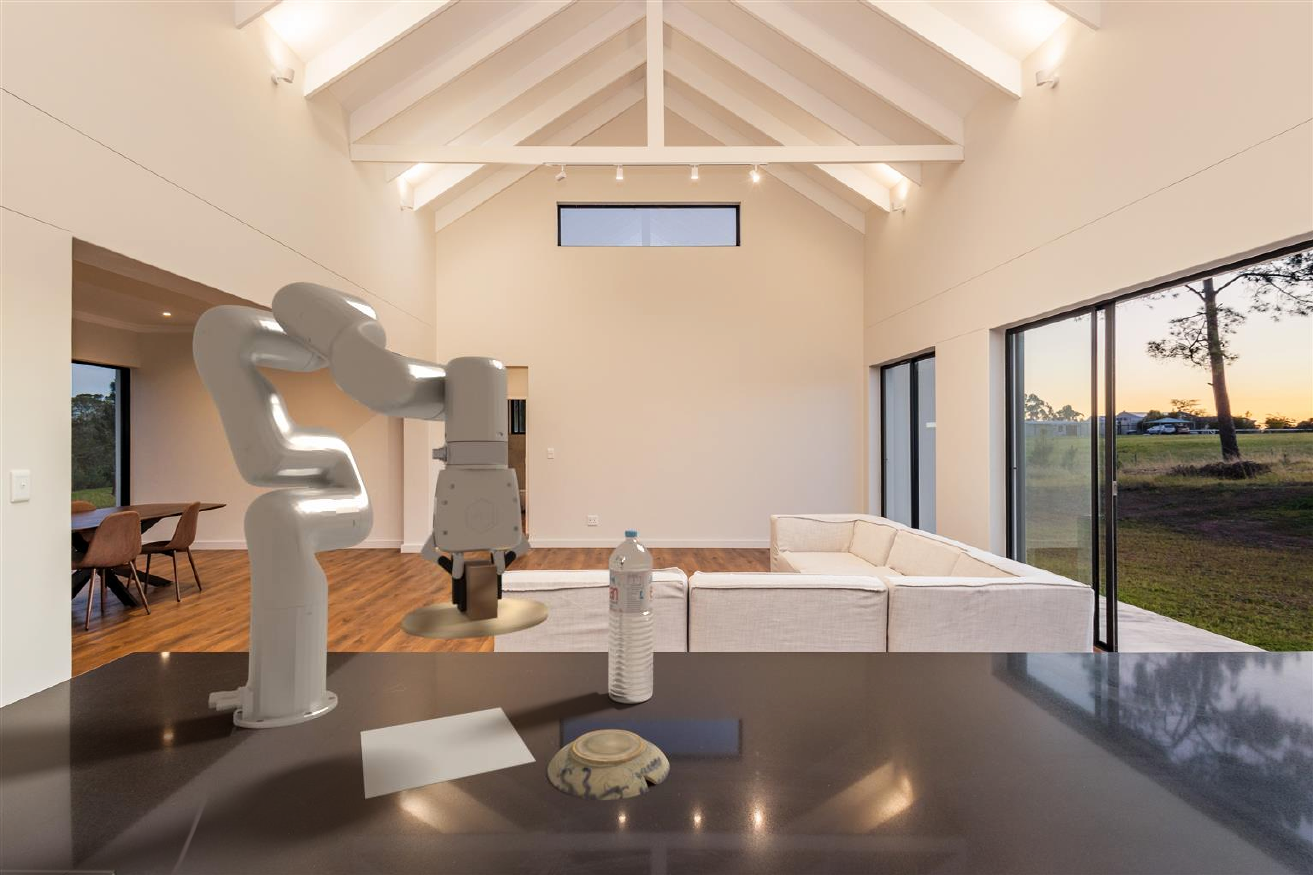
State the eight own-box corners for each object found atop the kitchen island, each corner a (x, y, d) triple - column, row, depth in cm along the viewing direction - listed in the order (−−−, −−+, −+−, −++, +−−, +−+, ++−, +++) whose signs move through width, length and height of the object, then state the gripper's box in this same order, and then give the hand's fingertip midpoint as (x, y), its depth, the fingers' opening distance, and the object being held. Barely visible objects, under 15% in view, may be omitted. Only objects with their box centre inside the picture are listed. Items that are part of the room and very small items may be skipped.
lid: (408, 647, 64) (408, 578, 65) (396, 614, 79) (396, 559, 80) (565, 626, 72) (565, 565, 72) (527, 600, 87) (527, 550, 87)
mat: (365, 803, 64) (365, 798, 64) (360, 736, 80) (360, 731, 80) (535, 765, 72) (535, 760, 72) (500, 711, 88) (500, 707, 88)
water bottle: (647, 706, 90) (648, 533, 91) (602, 703, 91) (603, 532, 93) (657, 690, 97) (657, 529, 98) (614, 686, 98) (615, 528, 99)
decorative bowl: (582, 739, 81) (514, 793, 67) (583, 710, 81) (515, 758, 67) (691, 761, 75) (641, 825, 61) (691, 730, 75) (641, 787, 61)
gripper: (408, 457, 70) (408, 623, 69) (549, 456, 77) (551, 606, 76) (403, 459, 76) (402, 610, 75) (533, 458, 84) (534, 595, 83)
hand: (477, 606), depth 76 cm, fingers closed on lid, 3 cm apart
